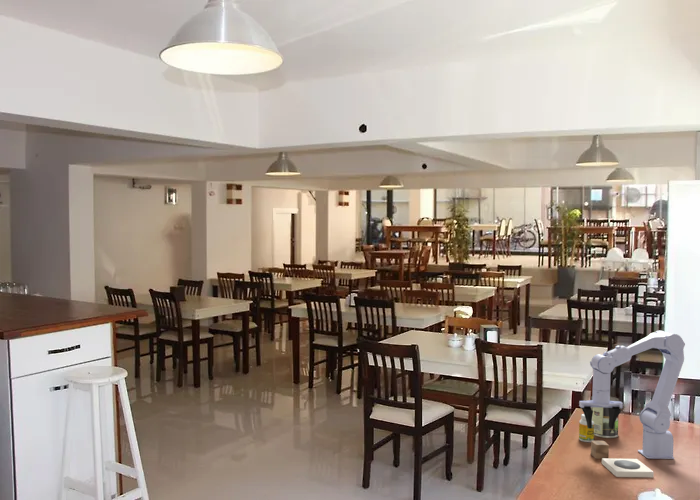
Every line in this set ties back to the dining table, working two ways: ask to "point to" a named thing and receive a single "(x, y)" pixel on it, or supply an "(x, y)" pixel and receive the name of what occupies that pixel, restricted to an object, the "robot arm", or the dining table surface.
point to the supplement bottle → (585, 430)
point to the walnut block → (599, 449)
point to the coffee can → (604, 422)
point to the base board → (627, 467)
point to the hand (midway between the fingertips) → (600, 427)
